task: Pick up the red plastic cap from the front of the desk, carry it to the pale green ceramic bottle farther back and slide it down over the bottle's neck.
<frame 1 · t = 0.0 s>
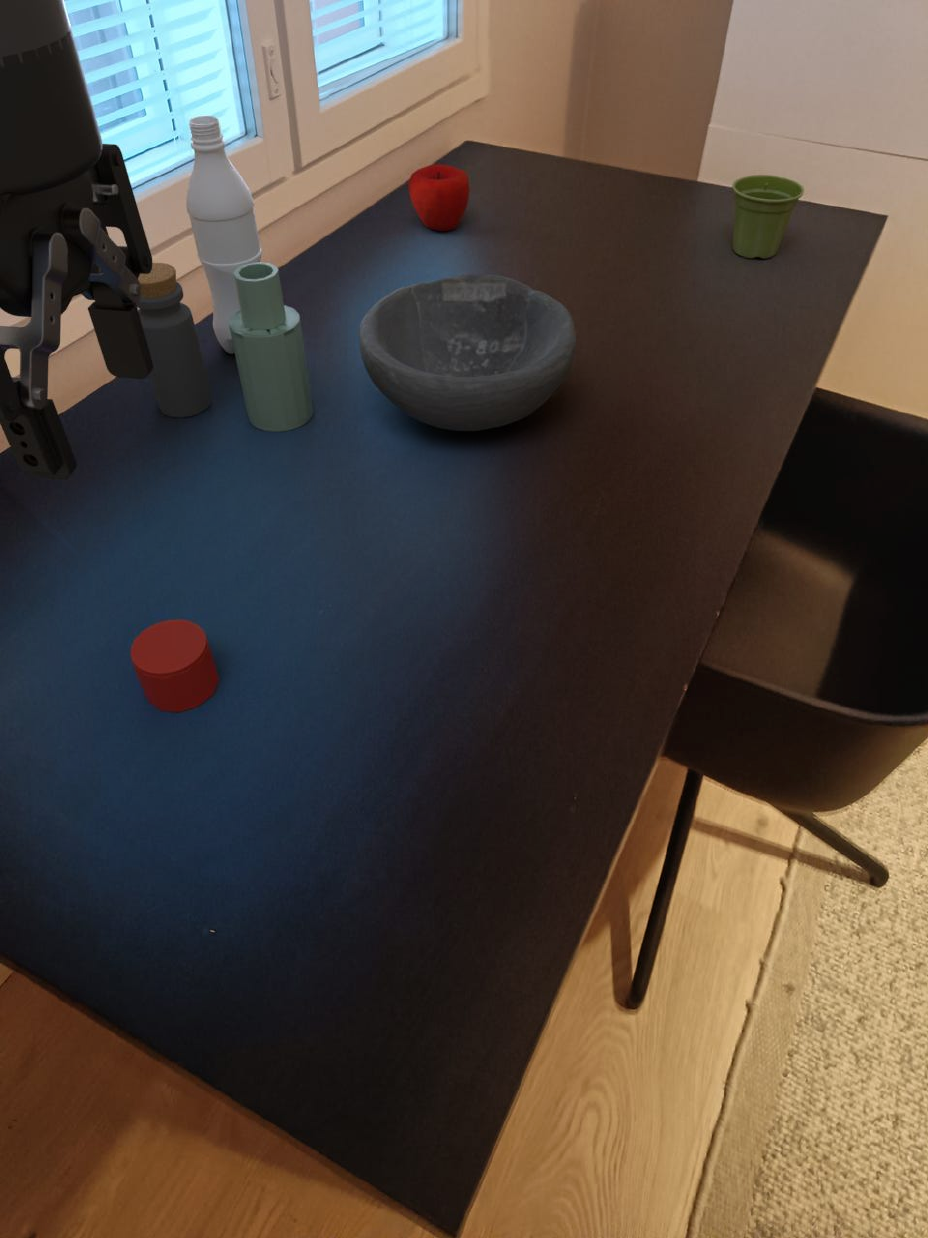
hand: (95, 421, 43), 30 cm above the table, tool pointing down, fingers open, 8 cm apart
bottle: (186, 405, 100), on the table
apple: (440, 227, 134), on the table
plant pot: (753, 252, 127), on the table
cap: (182, 684, 71), on the table
bowl: (467, 405, 99), on the table
ceramic bottle: (281, 413, 98), on the table
water bottle: (248, 347, 109), on the table
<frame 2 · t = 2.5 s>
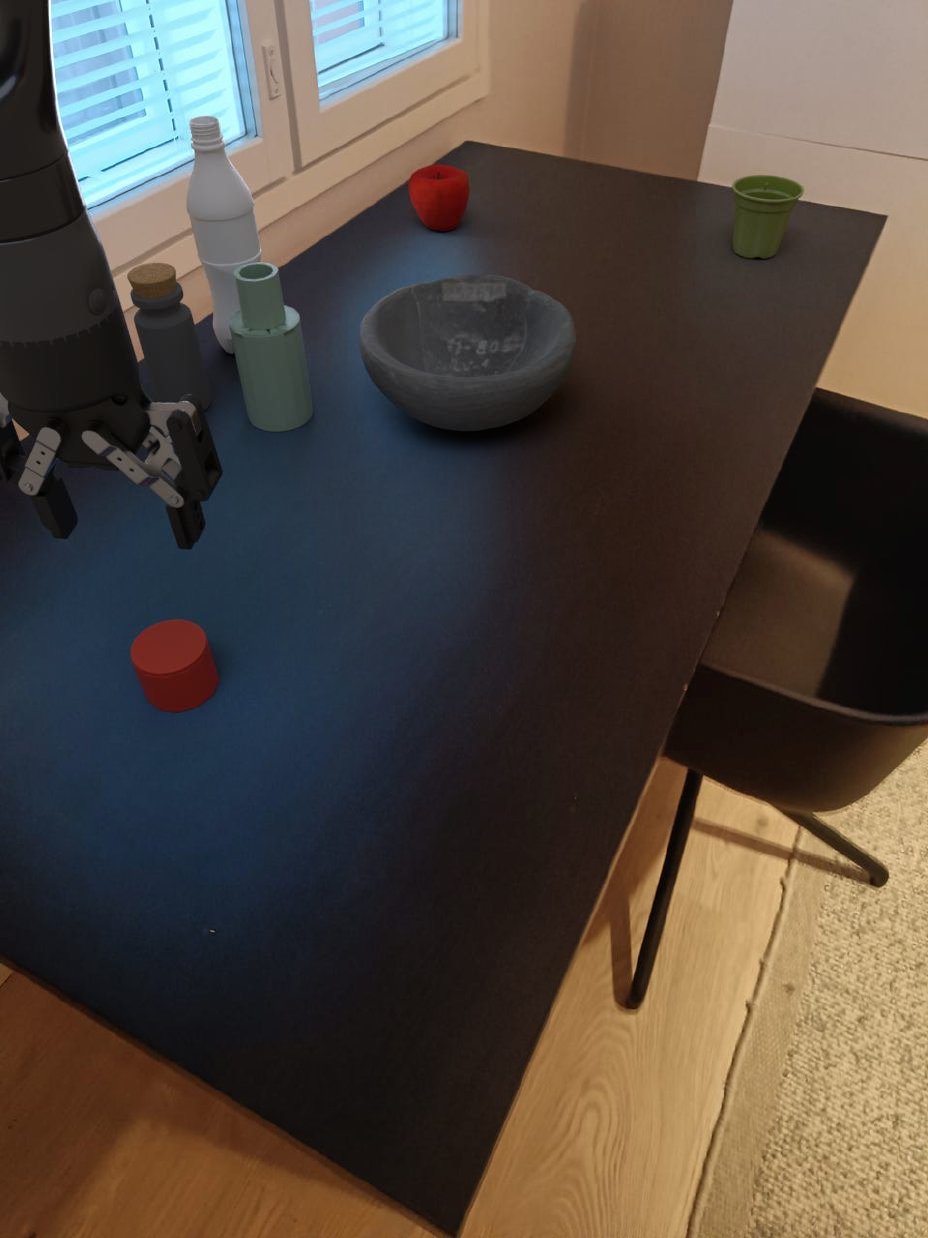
hand: (128, 536, 59), 16 cm above the table, tool pointing down, fingers open, 8 cm apart
nothing on the table moved.
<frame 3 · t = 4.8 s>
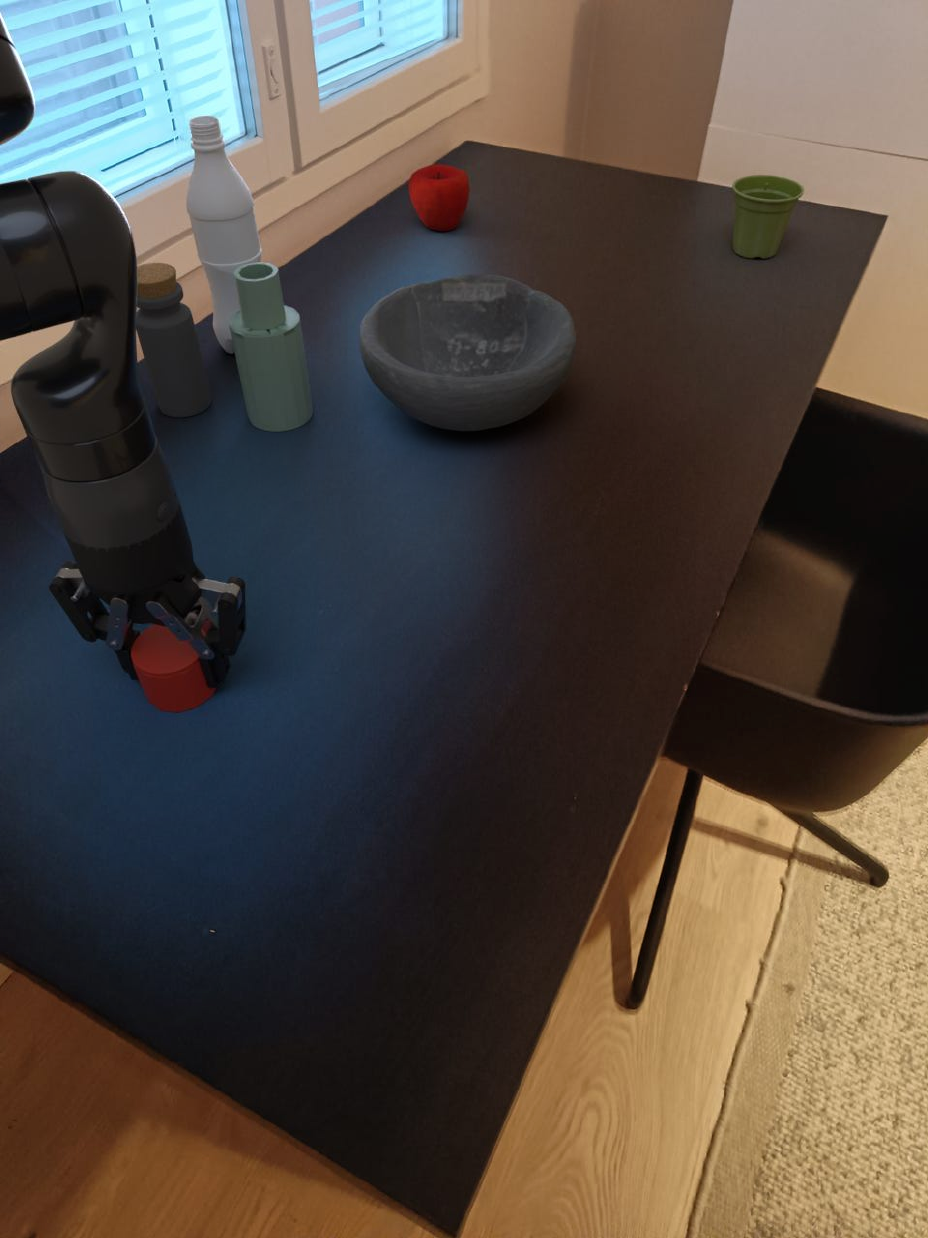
hand: (179, 675, 70), 1 cm above the table, tool pointing down, fingers closed on cap, 5 cm apart
cap: (182, 684, 71), on the table, touching gripper
everything else where it was.
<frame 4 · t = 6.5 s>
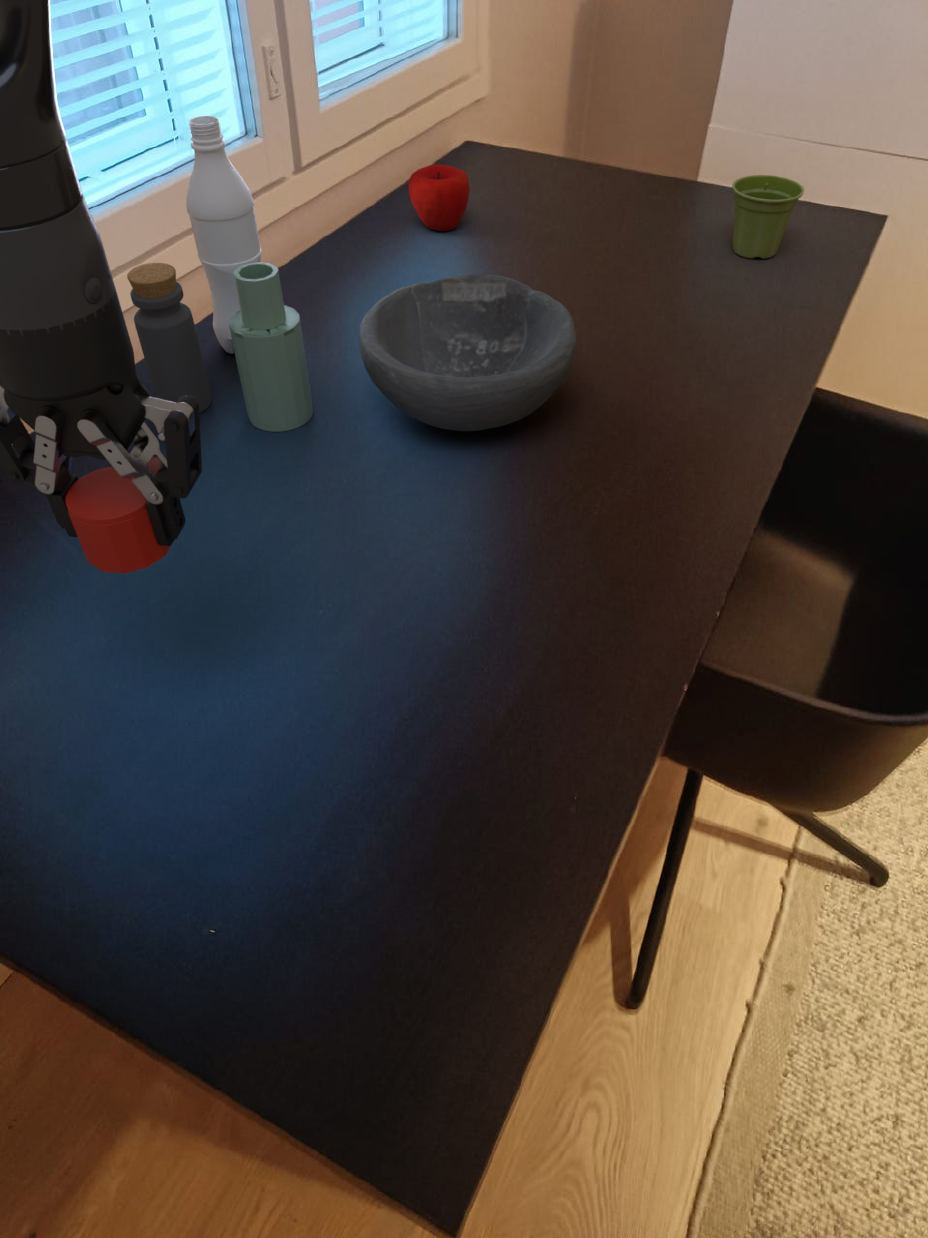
hand: (125, 532, 60), 16 cm above the table, tool pointing down, fingers closed on cap, 5 cm apart
cap: (129, 544, 60), point 15 cm above the table, touching gripper
everything else where it was.
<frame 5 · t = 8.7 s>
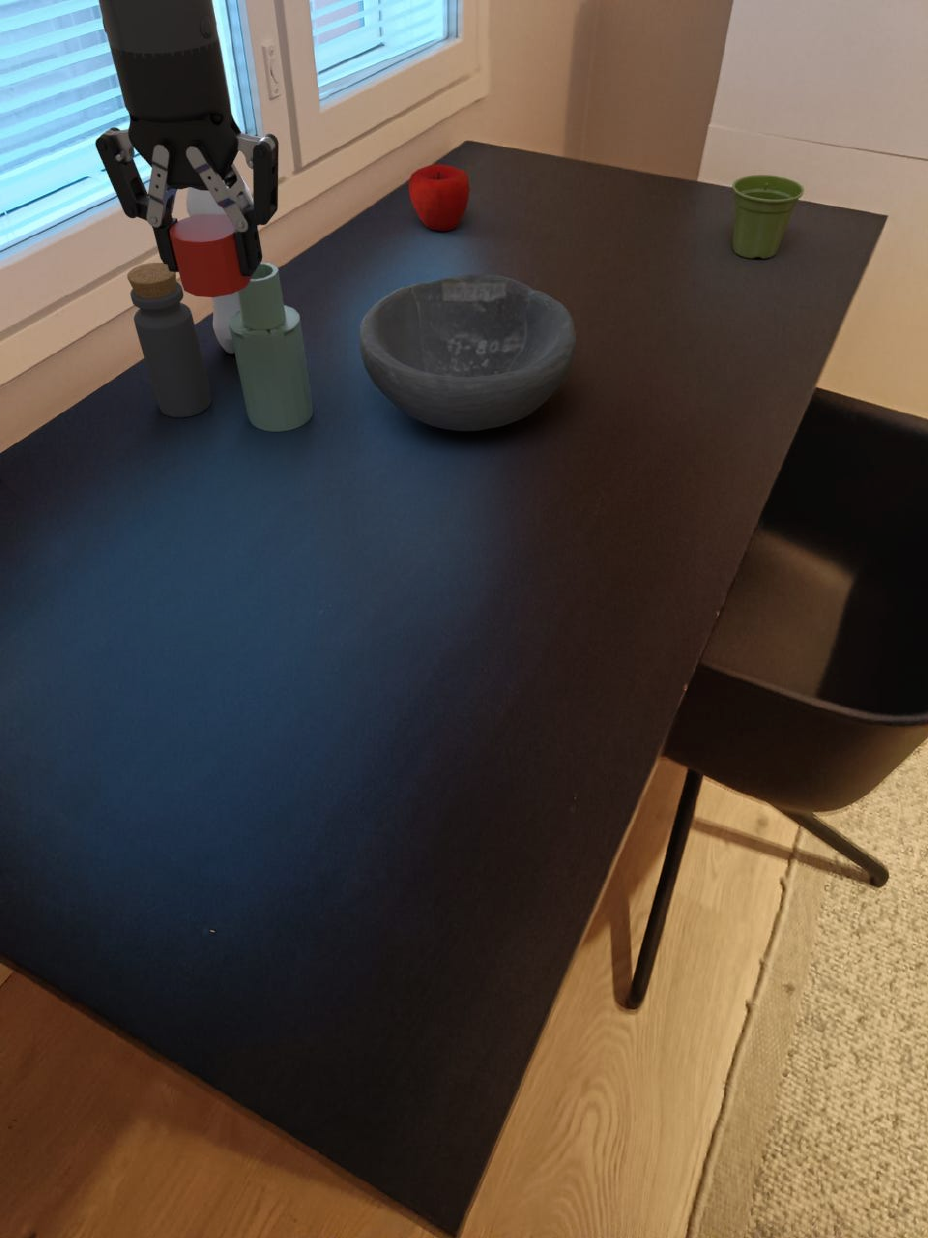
hand: (213, 269, 74), 22 cm above the table, tool pointing down, fingers closed on cap, 5 cm apart
cap: (216, 281, 75), point 21 cm above the table, touching gripper
everything else where it was.
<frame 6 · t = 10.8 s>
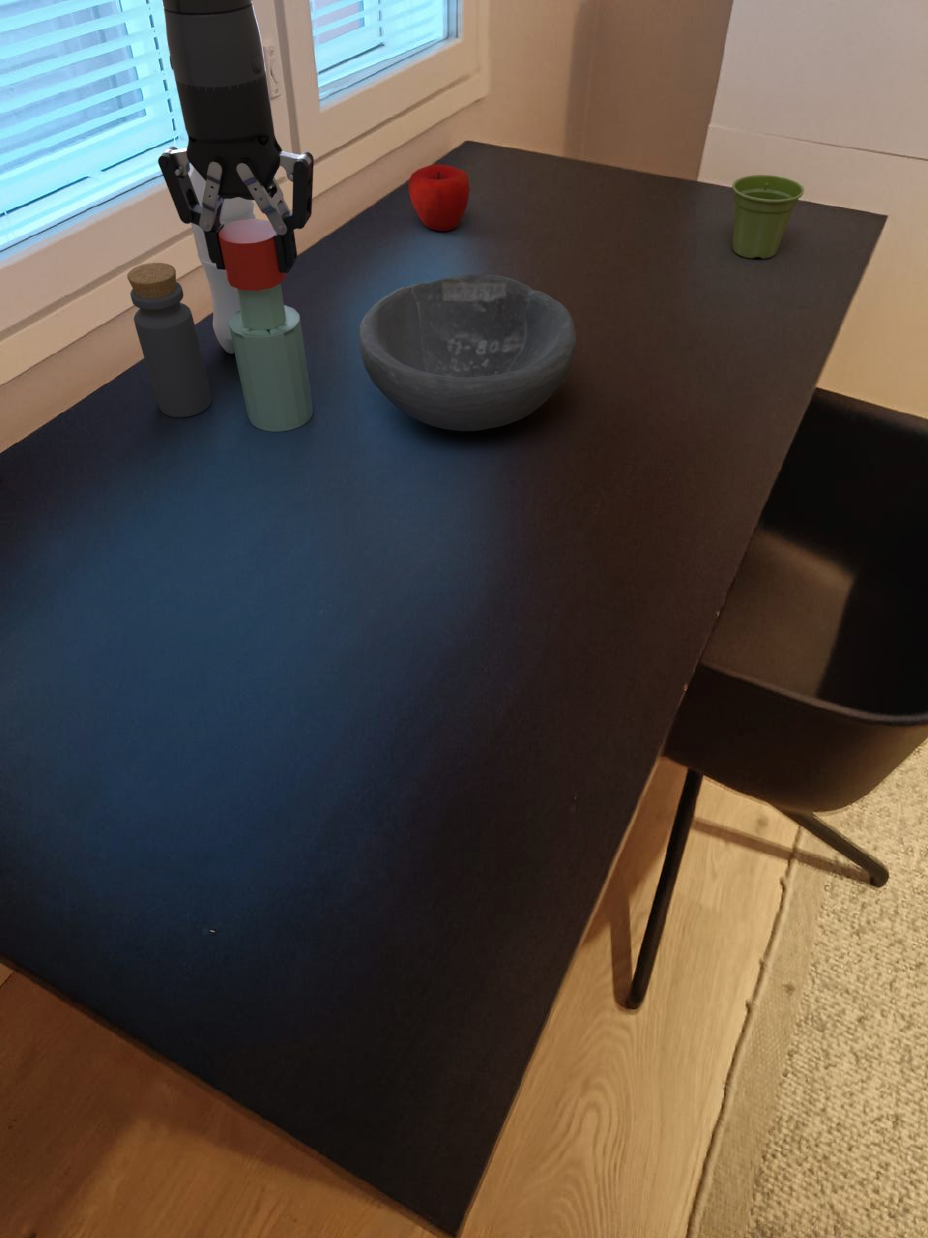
hand: (255, 267, 86), 16 cm above the table, tool pointing down, fingers closed on cap, 5 cm apart
cap: (257, 277, 87), point 15 cm above the table, touching gripper
everything else where it was.
when the fingers open (13 cm above the table, at t = 12.6 s): cap stays where it is, resting on ceramic bottle.
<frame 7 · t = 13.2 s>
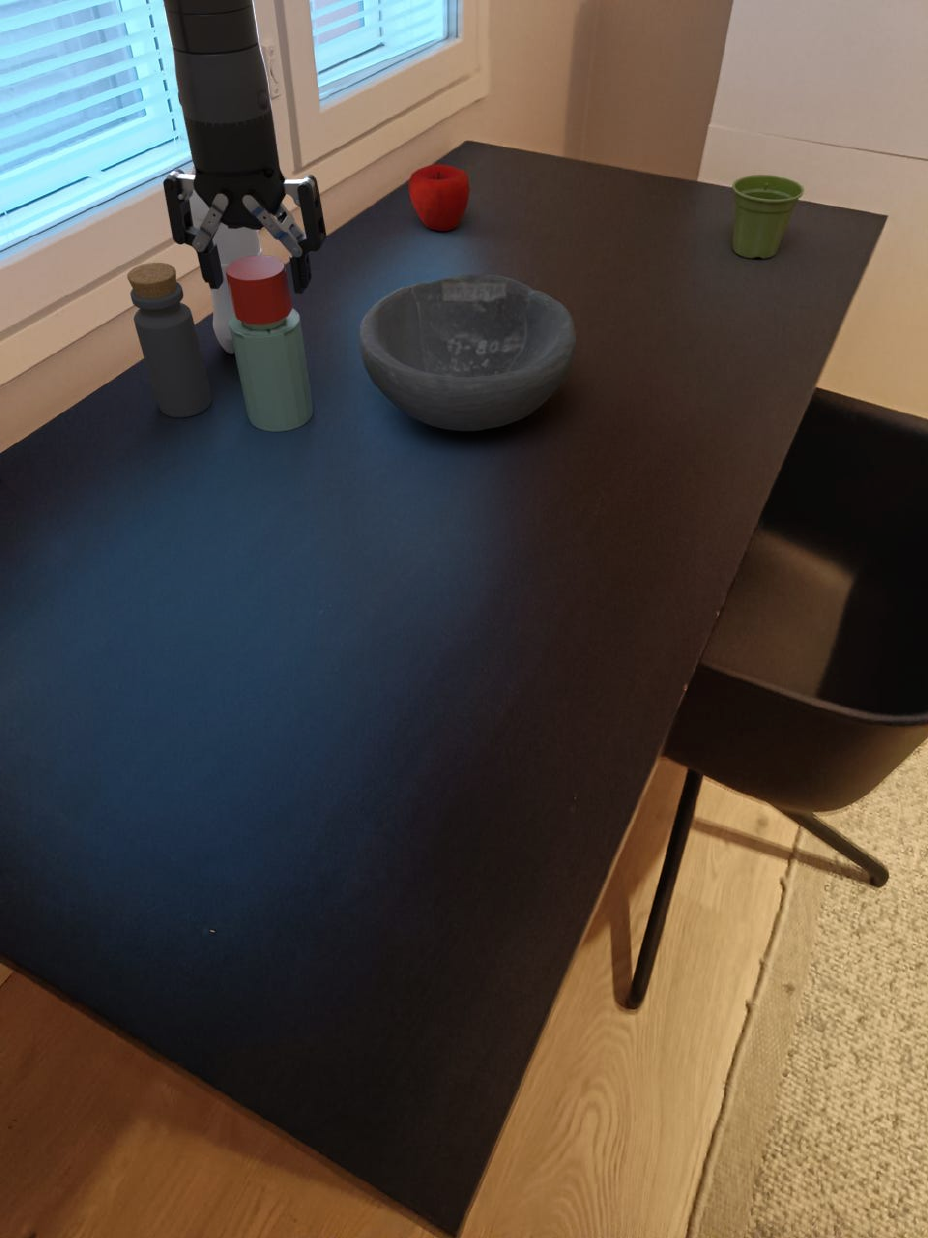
hand: (258, 287, 88), 14 cm above the table, tool pointing down, fingers open, 8 cm apart
cap: (263, 311, 90), point 12 cm above the table, touching ceramic bottle
everything else where it was.
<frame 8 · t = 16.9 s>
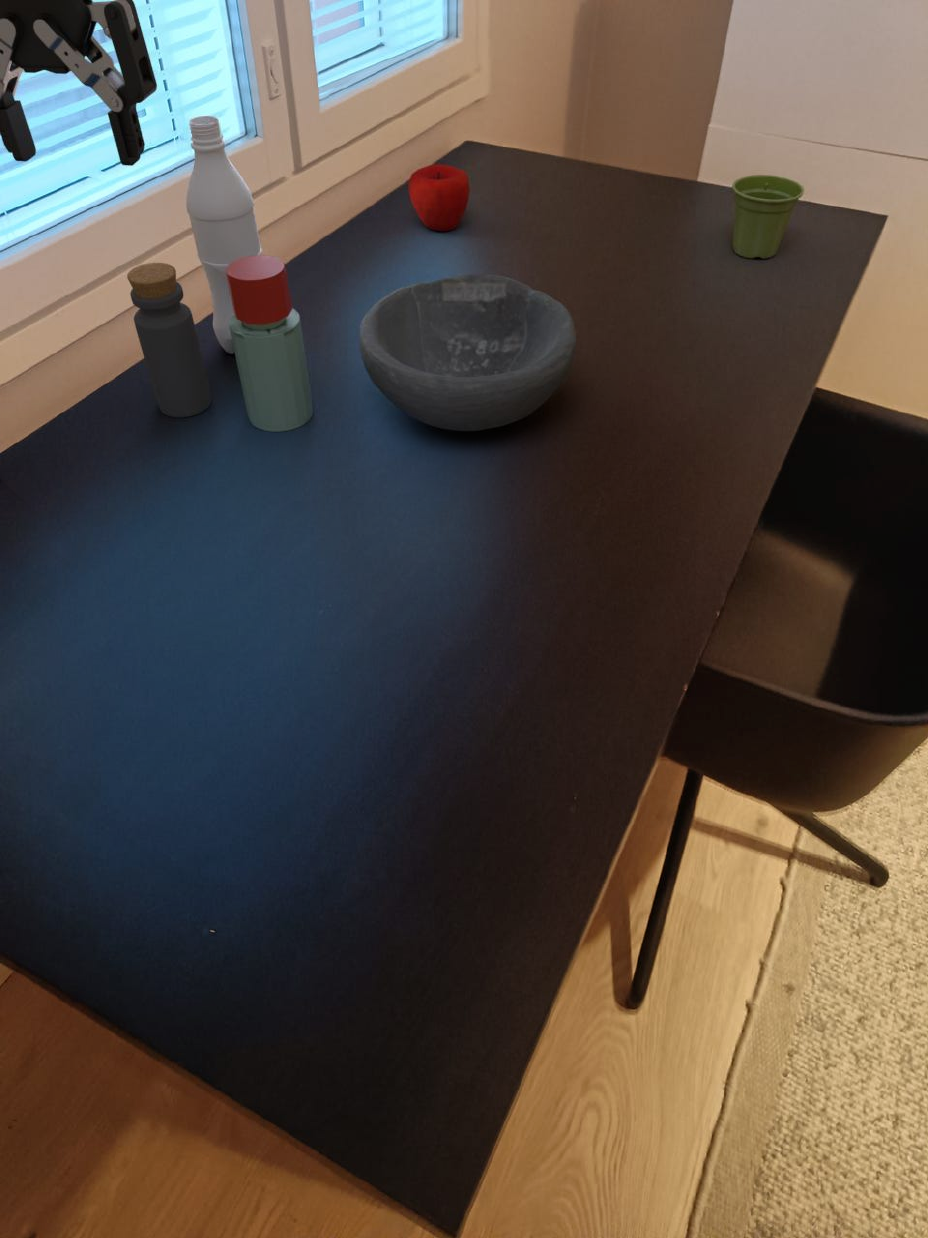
hand: (78, 160, 68), 30 cm above the table, tool pointing down, fingers open, 8 cm apart
nothing on the table moved.
at the end: cap 0.0 cm off-centre in the ceramic bottle, point 11.9 cm above the ceramic bottle's base; cap tilted 0°; the gripper is holding nothing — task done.
